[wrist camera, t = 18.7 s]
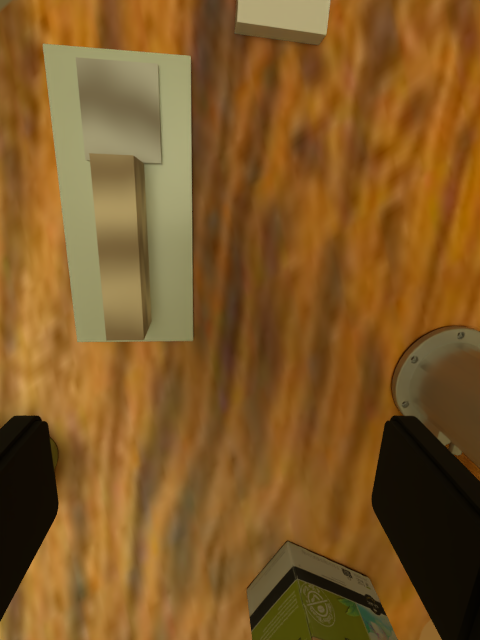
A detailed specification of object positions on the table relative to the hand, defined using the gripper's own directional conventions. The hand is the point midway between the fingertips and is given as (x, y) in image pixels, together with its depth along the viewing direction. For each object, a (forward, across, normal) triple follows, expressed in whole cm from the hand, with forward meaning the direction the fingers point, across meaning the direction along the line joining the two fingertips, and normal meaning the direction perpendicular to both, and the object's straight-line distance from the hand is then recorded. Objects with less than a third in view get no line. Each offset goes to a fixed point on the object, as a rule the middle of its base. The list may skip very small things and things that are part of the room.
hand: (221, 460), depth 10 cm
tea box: (+27, -13, +42) cm, 51 cm away
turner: (+24, +8, -7) cm, 27 cm away
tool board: (+25, +8, -6) cm, 27 cm away
